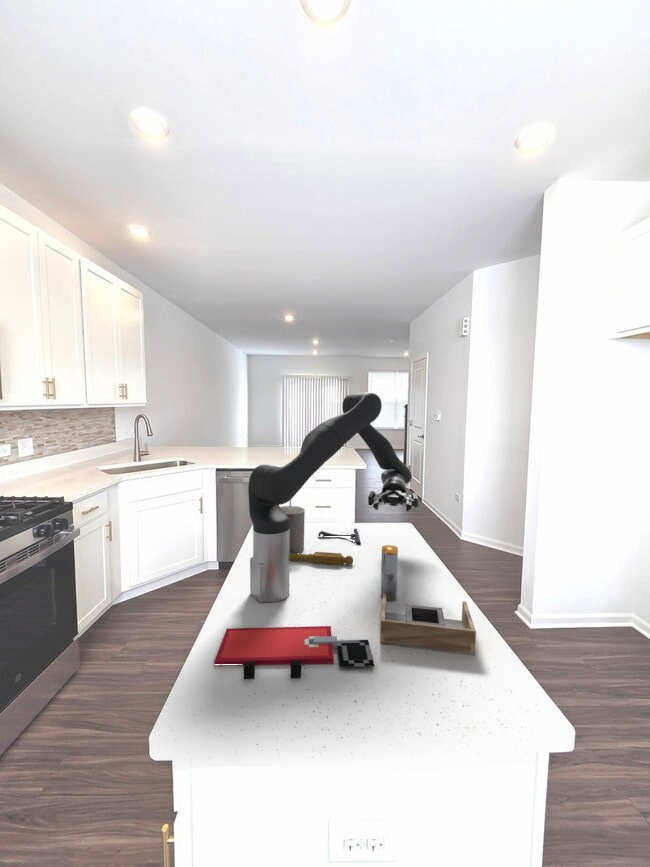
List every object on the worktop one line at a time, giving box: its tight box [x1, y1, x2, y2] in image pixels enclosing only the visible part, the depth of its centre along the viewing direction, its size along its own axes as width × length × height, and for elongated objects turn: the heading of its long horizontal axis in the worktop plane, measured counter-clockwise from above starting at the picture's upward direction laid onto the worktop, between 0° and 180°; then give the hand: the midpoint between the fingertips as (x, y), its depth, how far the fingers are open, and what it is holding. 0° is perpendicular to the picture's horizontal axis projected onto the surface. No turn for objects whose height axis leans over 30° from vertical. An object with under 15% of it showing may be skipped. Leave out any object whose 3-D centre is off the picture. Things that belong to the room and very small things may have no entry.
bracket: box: [317, 528, 362, 545], centre depth 146 cm, size 14×15×3 cm
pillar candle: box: [280, 505, 306, 554], centre depth 133 cm, size 10×10×15 cm
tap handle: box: [289, 551, 354, 567], centre depth 124 cm, size 3×3×30 cm
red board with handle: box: [213, 625, 375, 680], centre depth 79 cm, size 30×3×15 cm
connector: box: [380, 544, 399, 603], centre depth 101 cm, size 4×4×13 cm
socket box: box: [379, 594, 477, 656], centre depth 86 cm, size 12×19×5 cm, turn 79°
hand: (392, 507), depth 111 cm, fingers open, 8 cm apart
